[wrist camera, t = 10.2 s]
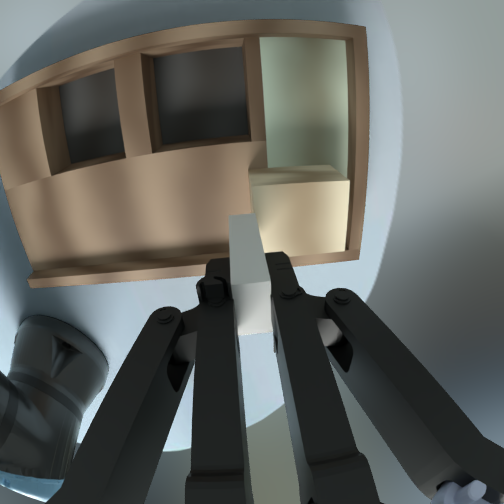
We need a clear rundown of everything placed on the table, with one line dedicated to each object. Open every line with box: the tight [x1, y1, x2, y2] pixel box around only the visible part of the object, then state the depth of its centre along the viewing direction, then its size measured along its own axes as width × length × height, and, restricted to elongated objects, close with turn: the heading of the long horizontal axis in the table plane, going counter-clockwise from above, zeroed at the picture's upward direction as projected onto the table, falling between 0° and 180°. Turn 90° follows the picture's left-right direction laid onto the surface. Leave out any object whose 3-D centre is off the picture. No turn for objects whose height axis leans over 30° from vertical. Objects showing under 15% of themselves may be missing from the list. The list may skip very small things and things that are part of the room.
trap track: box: [0, 19, 369, 288], centre depth 21 cm, size 30×18×6 cm, turn 94°
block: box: [248, 165, 350, 257], centre depth 20 cm, size 6×5×4 cm
